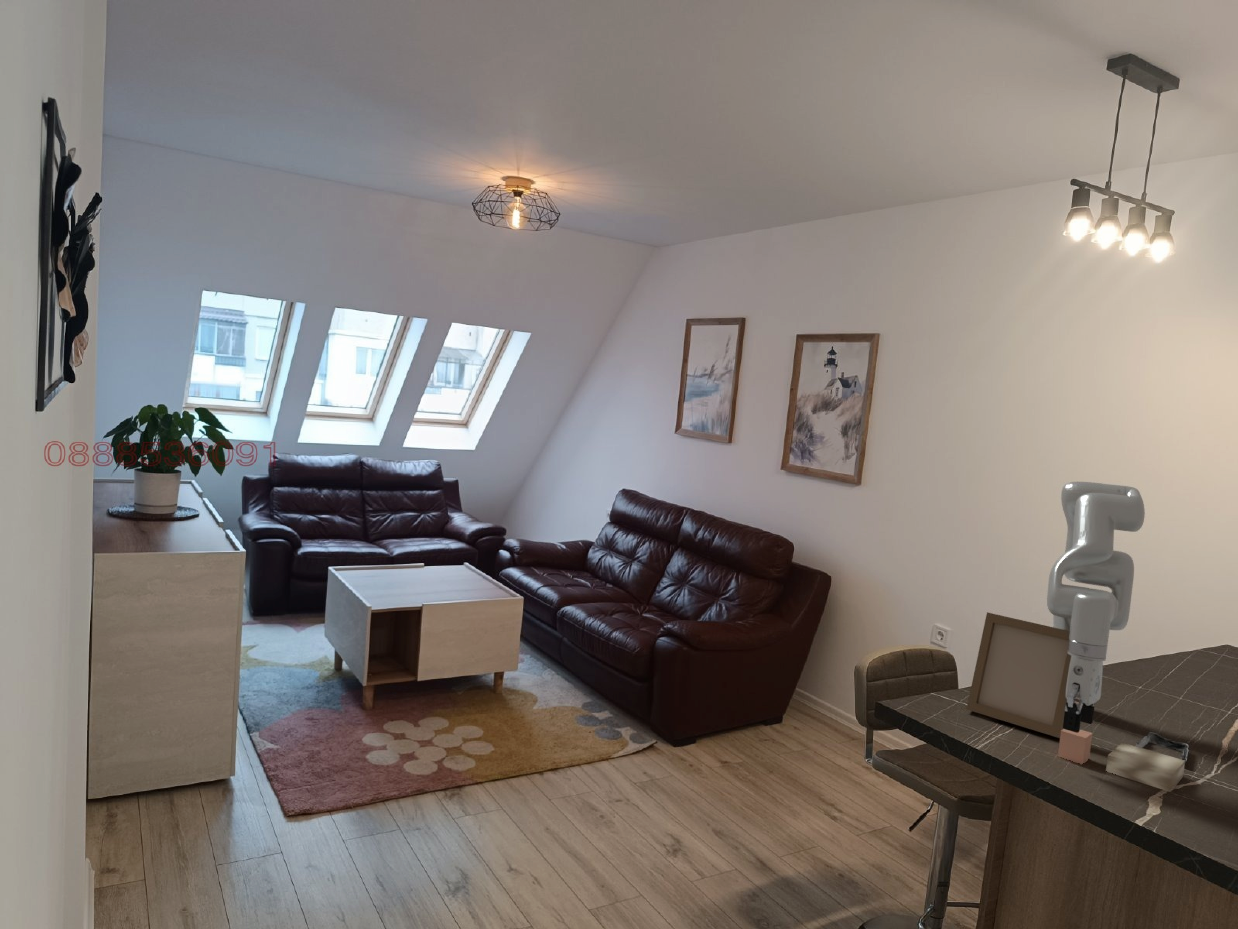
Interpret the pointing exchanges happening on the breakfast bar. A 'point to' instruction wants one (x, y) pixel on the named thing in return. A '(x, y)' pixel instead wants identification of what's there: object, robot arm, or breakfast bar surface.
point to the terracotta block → (1075, 745)
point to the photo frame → (1021, 674)
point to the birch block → (1145, 766)
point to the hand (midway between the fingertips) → (1077, 726)
